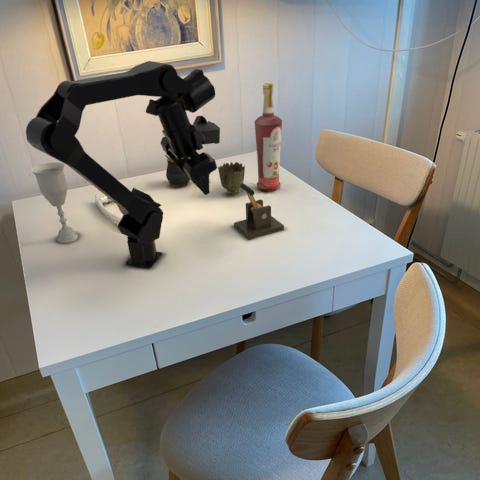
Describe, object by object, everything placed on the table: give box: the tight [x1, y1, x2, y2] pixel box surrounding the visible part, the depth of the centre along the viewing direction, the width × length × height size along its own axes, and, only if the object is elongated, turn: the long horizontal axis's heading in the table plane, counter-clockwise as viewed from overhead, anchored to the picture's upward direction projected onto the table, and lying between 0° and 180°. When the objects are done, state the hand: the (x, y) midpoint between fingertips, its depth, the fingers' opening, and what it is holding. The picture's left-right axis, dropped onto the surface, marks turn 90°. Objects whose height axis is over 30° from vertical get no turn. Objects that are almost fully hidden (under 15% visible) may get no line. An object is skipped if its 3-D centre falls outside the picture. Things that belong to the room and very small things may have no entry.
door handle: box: [94, 193, 122, 225], centre depth 132 cm, size 3×10×25 cm
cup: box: [217, 161, 246, 197], centre depth 138 cm, size 8×7×8 cm
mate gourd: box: [164, 154, 191, 188], centre depth 145 cm, size 7×8×10 cm
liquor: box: [254, 82, 283, 192], centre depth 134 cm, size 7×7×28 cm
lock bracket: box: [233, 199, 285, 240], centre depth 121 cm, size 10×8×6 cm
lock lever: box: [240, 182, 262, 213], centre depth 118 cm, size 9×5×2 cm
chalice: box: [31, 161, 79, 244], centre depth 118 cm, size 7×7×18 cm
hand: (199, 185), depth 115 cm, fingers open, 9 cm apart
